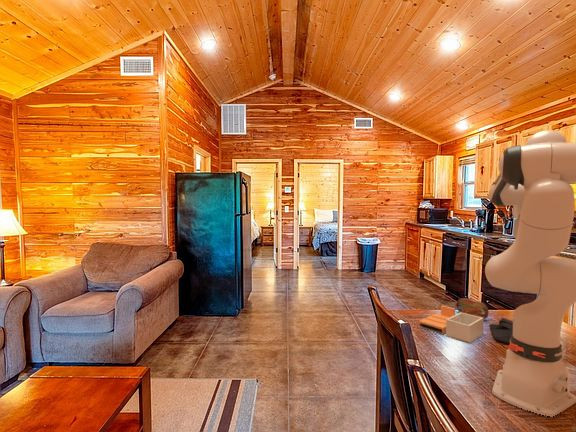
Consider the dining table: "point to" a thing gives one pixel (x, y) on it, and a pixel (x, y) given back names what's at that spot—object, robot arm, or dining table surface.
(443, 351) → the dining table surface
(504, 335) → the dark slate chunk
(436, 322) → the lid
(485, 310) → the brown arch piece
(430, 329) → the mat
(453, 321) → the tub
